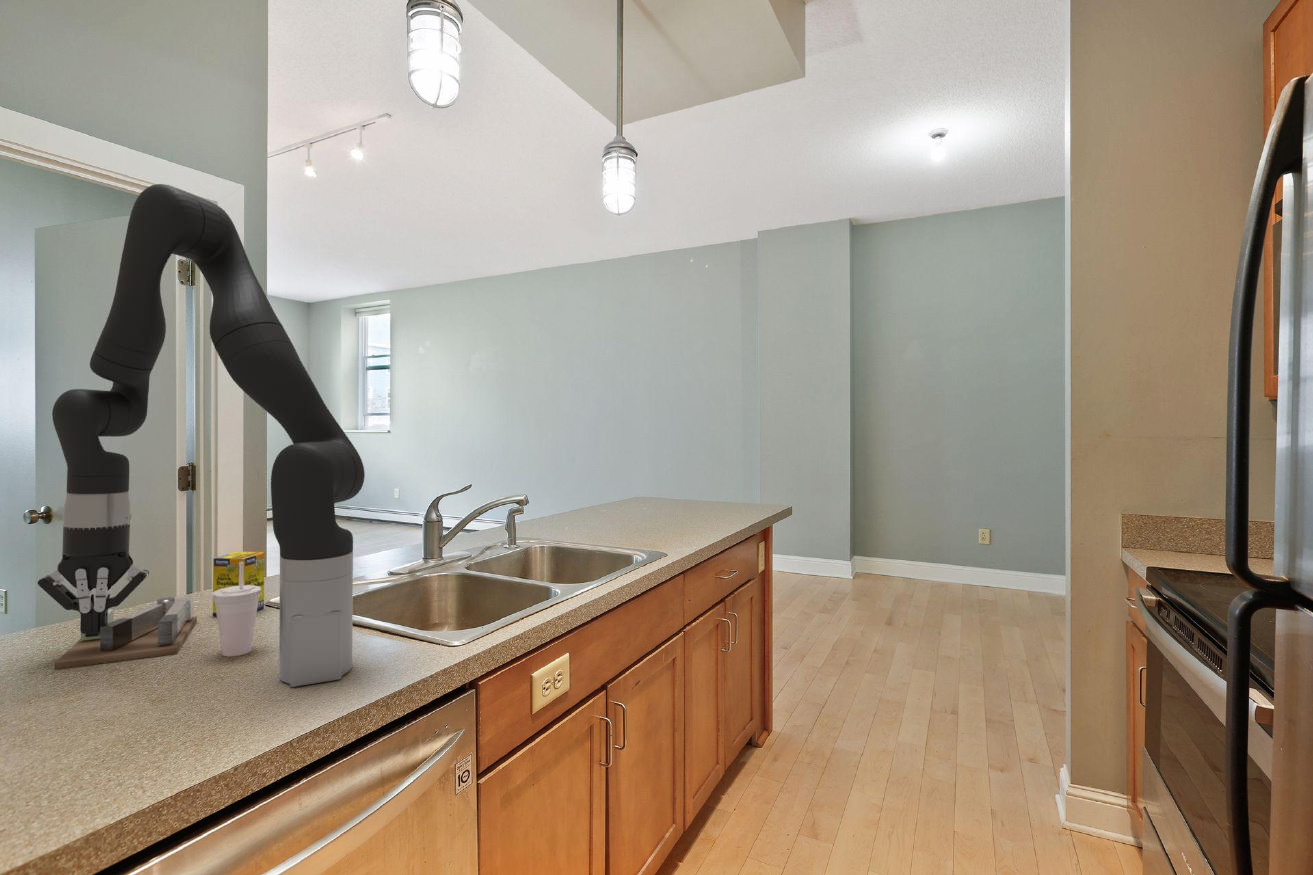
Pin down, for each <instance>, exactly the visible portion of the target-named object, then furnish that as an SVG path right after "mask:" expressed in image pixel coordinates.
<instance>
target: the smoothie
mask: <svg viewBox="0 0 1313 875" xmlns="http://www.w3.org/2000/svg"><path fill="white" fill-rule="evenodd" d="M261 594H262V593H261V587H259V586H254V585H244V562H239V586H233V587H227V588H223V589H219V590H217V591H215V592H213V591H212V594H211V595H212V597H211V601H212V602H213V601H214V602H215V607H216V614H217V617H216V619H217V627H218V634H219V639H220V646H221V653H222V656H224V657H230V658H231V657H239V656H242V655H246V654H248V653H250V652H251V651H252V646H253V641H254V634H255V627H256V619H257V612H258V611H257V607H258V599H259V596H260V595H261Z"/></svg>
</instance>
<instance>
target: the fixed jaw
mask: <svg viewBox="0 0 1313 875" xmlns="http://www.w3.org/2000/svg"><path fill="white" fill-rule="evenodd" d="M158 604H163V617H162V618H161V620H160V621H159V622H158V646H161V645H169V644H172V643H173V642H174V640H175V639H176V637H177V635H178V634H179V632H180V631H181V629H182V628H183V626H184V625H185V623H186V622H187V621H190V620H191V619H192V618H193V616H194V596H188V597H178V598H177V597H176V598H175V597H163V598H162V597H161V598H158V599H157V600H156V605H158Z"/></svg>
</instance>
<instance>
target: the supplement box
mask: <svg viewBox="0 0 1313 875" xmlns="http://www.w3.org/2000/svg"><path fill="white" fill-rule="evenodd" d="M265 555H266V554H265V552H263V551H233V552H231V553H227V554H224V555H220V556H215V557H213V558H212V568H213V569H212V572H213V573H212V574H213V575H212V593H213V592H215V591H217V590H219V589H223V588H227V587H233V586H239V562H244V585H254V586H259V587H261V593H262V594H261V595H260V596H259V599H258V607H257V612H258V611H261V610H263V609H264V608H265ZM212 617H213V618H217V614H216V607H215V602H214V601H212Z"/></svg>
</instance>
